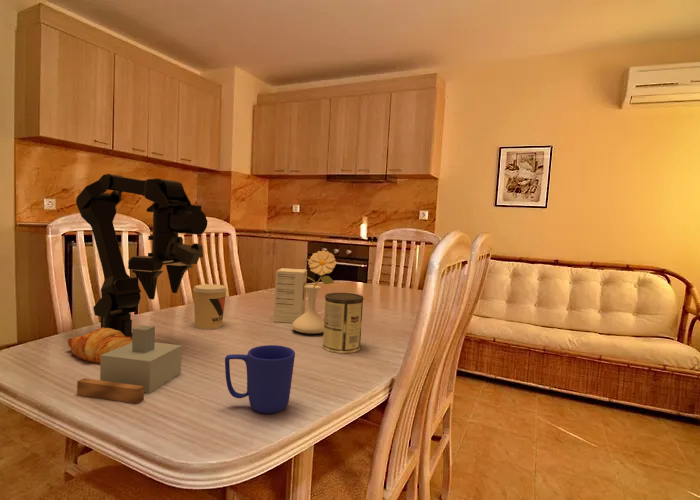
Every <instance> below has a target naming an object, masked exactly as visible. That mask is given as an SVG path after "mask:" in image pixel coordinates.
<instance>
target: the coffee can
mask: <svg viewBox="0 0 700 500" xmlns="http://www.w3.org/2000/svg"><path fill="white" fill-rule="evenodd" d="M324 299H325V300H324V301H325V302H324V318H323V319H324V332H323V338H322V339H323V341H322V349H323V350H326V351H328V352H330V353H336V354H353V353H356V352H358V351H360V350H361V339H362V321H363V303H364V296H363V295H361V294H358V293H350V292H329V293H326V294H325V295H324Z"/></svg>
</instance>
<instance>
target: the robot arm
mask: <svg viewBox="0 0 700 500" xmlns="http://www.w3.org/2000/svg"><path fill="white" fill-rule="evenodd" d="M107 191H111V193H109V192H107ZM123 193H129V194H133V195H138V196H139V195H140V196H142V197H144V198H145V199H146V200H148V201H150V202H152V204H151V205H150V206H148V207H147V208H146V212H147V213H152V235H148V236H147V237H148V238H147V240H148V241H151V252H147V255H137V256H131V257H129V259H128V261H127V262H128V263H127V265H128V266H127V269H128V270H131V272H132V273H134V275H136V277H131V276H130V275H129V274H128V273H127V271H126V267H125V263H124V259H123V256H122V255H123V254H122V253H121V248H120V245H119V241H118V237H117V234H116V230H115V226H114V219H115V217H116V215H117V206H118V205H119V204H120V203H121V201H122V194H123ZM75 203H76V207H77V209H78V212H79V214H80V216H81V218H82V219H83V220H84V221H85V222H86V223H87V224H89V225H90V227H91V230H92V231H91V232H92V234H93V239H94V241H95V242H94V243H95V246H96V249H97V254H98V257H99V260H100V264H101V268H102V271H103V275H104V280H103V283H102V285H101V288H100V293H101V297H100V299H98V301H97V302H96V304H94V306H93V313H94V316H96V317H100V328H101V327H104V328H111V329H114V330H119V331H121V332H122V333H123V334H124V335H125V336H126V337H133V327H132V326H133V319H132V318H131V316H132V314H131V313H137V310H138V307H139V305H140V301H141V298H142V297H141V293H142V290H141V288H140V286H139V285H140V284H139V282H140V283H141V285H142V288H143V290H144V291H145V293H146V296H147V298H148V299H149V300H155V296H156V293H157V291H156V290H157V283H158V277H160V275H161V274H162V273H163V270H161V269H162V268H163V265H164V266H165V265H166V266H165V267H166V271H167V276H168V280H169V285H170V289H171V292H172V294H177V293H178V291H179V289H180V286H181V283H182V281H183V277H184V276H185V273H186V272H187V271H188V270H189V269H191V268H193V265H197V264H198V263H199V259H200V258H203V257H204V254H203V252H204V251H203V245H202V244H200V243H193V244H192V245H190V244H185V243H184V238H183V237H182V236H179V234H184V235H185V234H186V235H197V236H200V235H202V234H203V233H204V232H205V231H206V229H207V227H208V219H207V216H206V214H205V213H204V212H203V211H202V206H201V205H197V204H195V205H194V204H192V202H191V201H190V199H189V197H188V195H187V193H186V191H185V189H184V186H183V183H182V182H181V181H177V180H171V179H165V178H159V177H158V178H156V177H155V178H147V179H145V180H144V179H137V178H132V177H125V176H123V175H119V174H118V175H117V174H110V173H106V174H102V176H101V177H99V179H98V180H96V181H95V182H93V183H90V184H88V185H86V186H85V187H84V188H83V189H82V190H81V192H79V194H78V195H77V197H76V200H75Z"/></svg>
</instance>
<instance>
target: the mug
mask: <svg viewBox="0 0 700 500" xmlns="http://www.w3.org/2000/svg"><path fill="white" fill-rule="evenodd" d="M295 357H296V352H295V350H293V348H290V347H288V346H284V345H276V344H275V345H274V344H269V345H259V346H256V347H252V348H250V349H249V350H248V352H247V354H243V353H241V354H239V353H238V354H237V353H236V354H235V353H234V354H233V353H232V354H227V355H225V358H224V367H225V368H224V369H225V371H224V372H225V380H226V385H227V386H226V388H227V390H228V392H229V394H230V395H231V397H233V398H235V399H243V398H245V397H248V400H249V401H248V402H249V405H250V407H251V408H252V410H254V411H256V412H257V413H260V414H275V413H279V412H282V411H283V410H284V409H286V407H287V406H288V404H289V400H290V395H291V390H292V389H291V388H292V381H293V371H294V364H295ZM231 360H240V361H241V360H242V361H243V362H245V366H246V392H245V393H244V392H243V393H239V392H237V391H236V390H235V388H234V387H233V383H232V380H231V372H230V371H231V369H230V366H231V365H230V361H231Z"/></svg>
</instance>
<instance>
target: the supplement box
mask: <svg viewBox="0 0 700 500" xmlns="http://www.w3.org/2000/svg"><path fill="white" fill-rule="evenodd" d="M306 276H307V277H308V269H300V268H285V267H284V268H282V267H281V268H279V269H277V270H276V271H275V284H274V302H273V303H274V307H273V323H274V322H276V323H287V324H289V323H290V324H292V323H293V322H294V321H295V320H296V319H297V318H298V317H300V316H301V315H302V314H304V313H305V312H306V298H307V291H306V289H305V287H304V286H306V285H307V282H308V281H307V279H308V278H307V277H306Z"/></svg>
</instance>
